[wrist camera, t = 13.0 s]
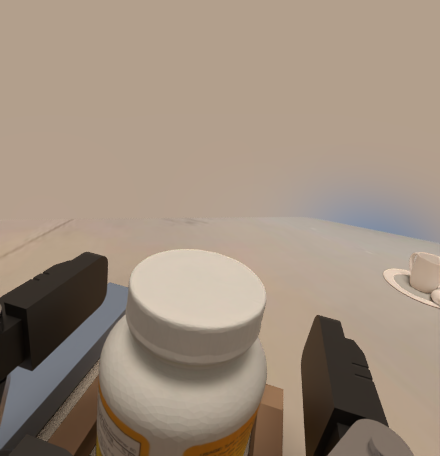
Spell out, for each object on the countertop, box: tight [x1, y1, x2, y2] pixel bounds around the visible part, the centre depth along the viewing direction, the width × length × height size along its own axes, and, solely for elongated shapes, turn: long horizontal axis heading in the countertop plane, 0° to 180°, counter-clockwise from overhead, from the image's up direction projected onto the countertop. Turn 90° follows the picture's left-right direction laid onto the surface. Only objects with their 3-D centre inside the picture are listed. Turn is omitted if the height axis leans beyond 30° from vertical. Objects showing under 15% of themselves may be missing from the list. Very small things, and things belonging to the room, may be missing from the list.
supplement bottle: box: [96, 249, 267, 456], centre depth 10 cm, size 5×5×10 cm
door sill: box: [0, 283, 128, 450], centre depth 13 cm, size 18×2×2 cm, turn 167°
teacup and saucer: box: [383, 252, 440, 308], centre depth 31 cm, size 9×8×4 cm
